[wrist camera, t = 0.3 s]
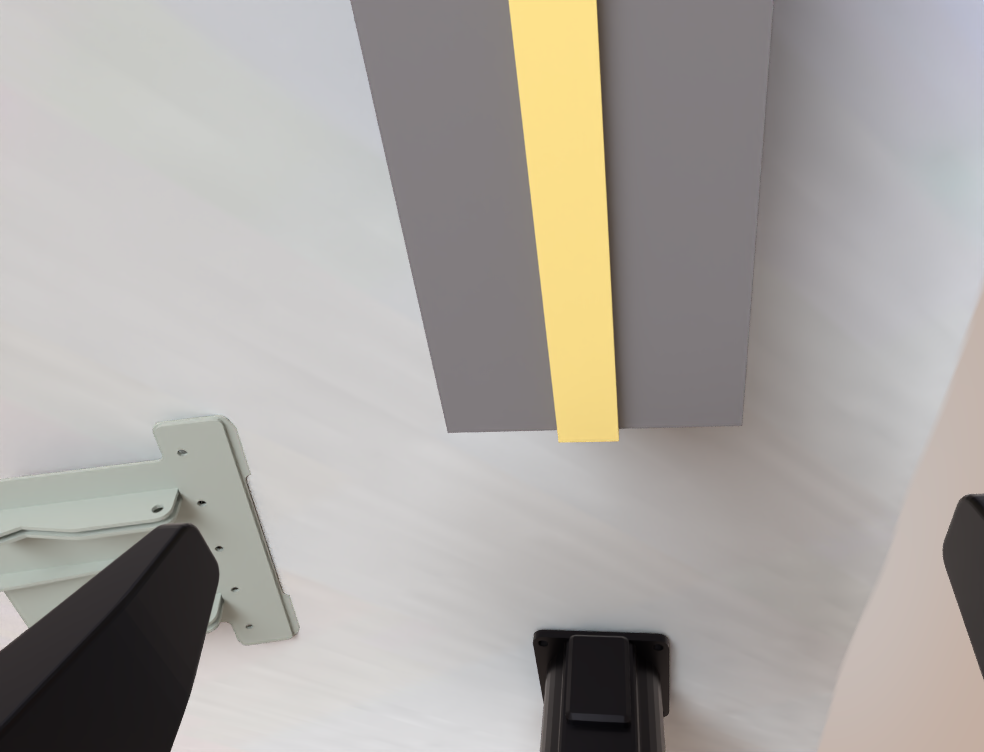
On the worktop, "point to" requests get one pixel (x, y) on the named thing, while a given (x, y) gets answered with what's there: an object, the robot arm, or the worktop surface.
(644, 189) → the grey rectangular box
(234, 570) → the metal bracket
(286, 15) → the worktop surface
